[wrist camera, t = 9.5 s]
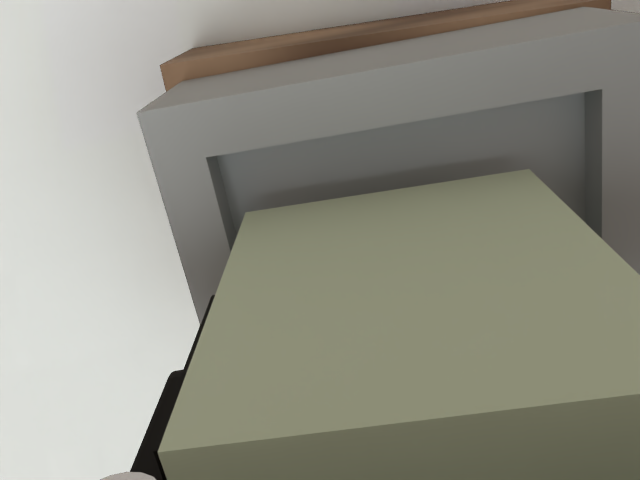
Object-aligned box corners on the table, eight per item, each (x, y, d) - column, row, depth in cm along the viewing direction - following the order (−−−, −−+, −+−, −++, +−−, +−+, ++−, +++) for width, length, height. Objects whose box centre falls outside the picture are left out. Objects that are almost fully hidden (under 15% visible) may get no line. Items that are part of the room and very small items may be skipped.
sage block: (529, 168, 10) (748, 379, 5) (537, 402, 12) (700, 740, 7) (245, 212, 11) (157, 453, 5) (296, 431, 13) (269, 774, 7)
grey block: (584, 6, 13) (665, 16, 10) (586, 353, 17) (647, 444, 13) (181, 81, 14) (136, 112, 11) (265, 397, 17) (250, 492, 14)
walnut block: (549, -7, 17) (611, -2, 13) (547, 308, 21) (594, 379, 17) (195, 46, 17) (160, 65, 14) (258, 341, 21) (243, 416, 18)
